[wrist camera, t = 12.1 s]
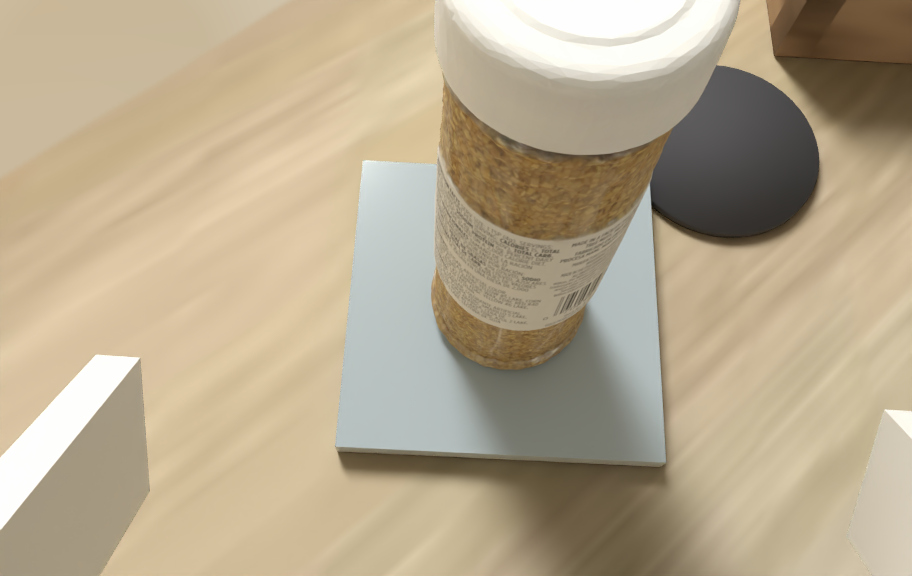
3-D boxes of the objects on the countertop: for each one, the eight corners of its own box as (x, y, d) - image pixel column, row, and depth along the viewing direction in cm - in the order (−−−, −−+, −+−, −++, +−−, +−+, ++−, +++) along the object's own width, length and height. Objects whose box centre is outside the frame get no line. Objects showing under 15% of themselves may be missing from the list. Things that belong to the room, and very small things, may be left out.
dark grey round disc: (802, 75, 29) (806, 70, 29) (827, 242, 26) (831, 238, 26) (617, 65, 29) (619, 59, 28) (625, 232, 26) (627, 227, 26)
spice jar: (524, 206, 26) (622, -198, 13) (615, 323, 24) (818, -7, 12) (398, 279, 25) (376, -88, 12) (485, 407, 23) (560, 138, 11)
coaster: (644, 185, 27) (649, 176, 26) (660, 466, 23) (666, 462, 23) (364, 170, 27) (362, 160, 26) (337, 451, 23) (334, 446, 23)
